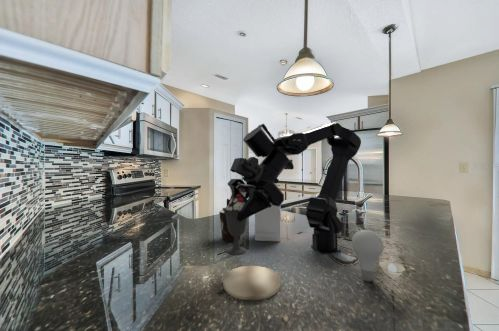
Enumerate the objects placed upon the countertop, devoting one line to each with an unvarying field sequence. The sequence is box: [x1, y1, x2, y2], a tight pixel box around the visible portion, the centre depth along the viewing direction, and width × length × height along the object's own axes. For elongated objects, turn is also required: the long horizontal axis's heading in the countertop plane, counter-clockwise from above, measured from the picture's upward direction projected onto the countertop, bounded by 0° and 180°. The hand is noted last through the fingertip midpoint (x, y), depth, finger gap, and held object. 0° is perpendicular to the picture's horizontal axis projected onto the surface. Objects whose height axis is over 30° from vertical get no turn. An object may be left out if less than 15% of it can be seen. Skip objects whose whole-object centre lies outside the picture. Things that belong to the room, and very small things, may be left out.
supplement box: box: [254, 203, 282, 243], centre depth 79 cm, size 9×9×15 cm
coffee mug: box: [218, 209, 242, 243], centre depth 78 cm, size 12×9×10 cm
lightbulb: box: [351, 229, 384, 282], centre depth 47 cm, size 6×6×11 cm
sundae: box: [221, 188, 248, 256], centre depth 51 cm, size 7×7×15 cm
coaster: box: [222, 265, 281, 301], centre depth 46 cm, size 12×12×1 cm
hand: (231, 217), depth 50 cm, fingers closed on sundae, 6 cm apart
